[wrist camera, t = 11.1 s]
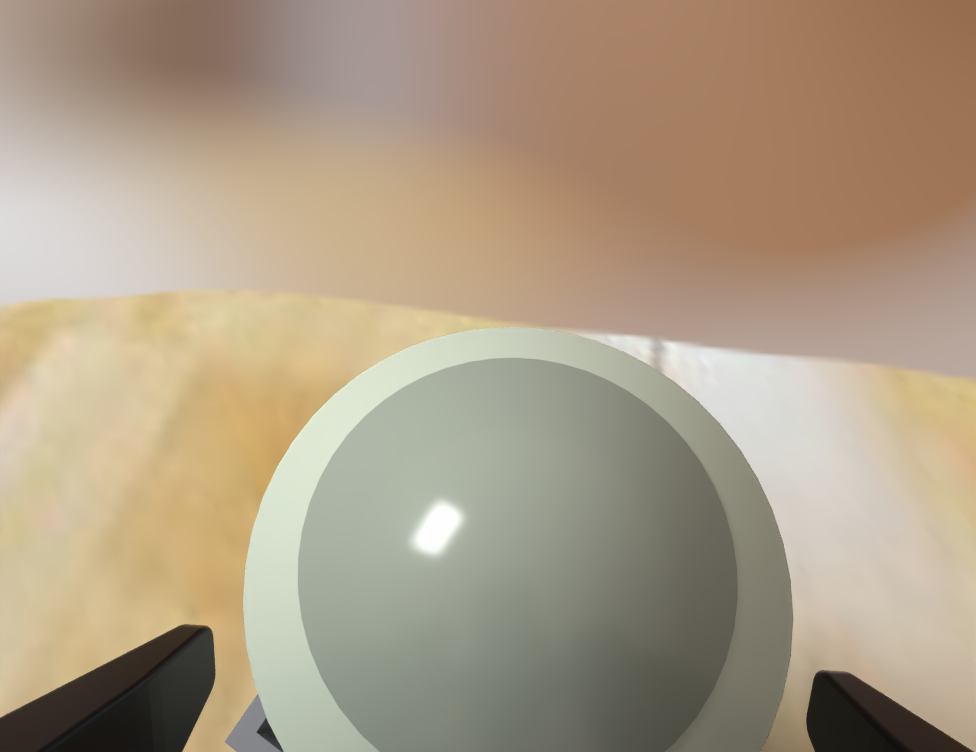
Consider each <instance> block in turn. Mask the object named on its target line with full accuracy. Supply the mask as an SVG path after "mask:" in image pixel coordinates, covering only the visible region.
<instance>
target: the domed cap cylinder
mask: <svg viewBox="0 0 976 752" xmlns="http://www.w3.org/2000/svg"><path fill="white" fill-rule="evenodd" d="M243 609H244V624H245V638H246V646H247V651H248V656H249V661H250V665H251V670H252V675H253V680H254V684H255V687H256V689H257V692H258V695H259V698H260V701H261V703H262V706H263V709H264V712H265V715H266V717H267V720H268V723H269V725H270V726H271V728H272V730H273V732H274V734H275V736H276V738H277V740H278V742H279V743H280V745H281V747H282V749H283V751H284V752H760V750H761V748H762V746H763V745H764V743H765V741H766V739H767V737H768V735H769V732H770V730H771V727H772V724H773V721H774V719H775V716H776V713H777V710H778V708H779V705H780V702H781V699H782V696H783V692H784V687H785V682H786V677H787V672H788V667H789V662H790V657H791V643H792V627H793V609H792V594H791V580H790V575H789V569H788V564H787V559H786V554H785V549H784V544H783V541H782V538H781V535H780V532H779V529H778V526H777V523H776V520H775V517H774V514H773V510H772V508H771V506H770V504H769V502H768V499H767V497H766V495H765V493H764V491H763V489H762V487H761V484H760V482H759V480H758V478H757V476H756V475H755V473H754V471H753V470H752V468H751V467H750V465H749V463H748V462H747V460H746V458H745V457H744V455H743V454H742V452H741V450H740V449H739V448H738V446H737V445H736V444H735V442H734V441H733V440H732V439H731V437H730V436H729V435H728V434H727V432H726V431H725V430H724V428H723V427H722V426H721V425H720V423H719V422H718V421H717V420H716V419H715V418H714V417H713V416H712V415H711V414H710V413H709V412H708V411H707V410H706V409H705V408H704V407H703V406H702V405H701V404H700V403H699V402H698V401H697V400H696V399H695V398H693V397H692V396H691V395H690V394H689V393H687V392H686V391H685V390H684V389H683V388H681V387H680V386H679V385H678V384H676V383H675V382H674V381H672V380H671V379H669V378H668V377H666V376H665V375H663V374H662V373H660V372H659V371H657V370H656V369H654V368H653V367H651V366H650V365H648V364H646V363H644V362H642V361H640V360H638V359H637V358H635V357H633V356H631V355H629V354H627V353H625V352H623V351H620V350H618V349H615V348H613V347H610V346H608V345H605V344H603V343H600V342H598V341H594V340H591V339H587V338H584V337H580V336H577V335H573V334H569V333H563V332H558V331H552V330H546V329H537V328H523V327H500V328H483V329H476V330H469V331H462V332H457V333H453V334H449V335H445V336H441V337H437V338H433V339H430V340H428V341H425V342H422V343H420V344H417V345H414V346H411V347H409V348H406V349H404V350H402V351H400V352H398V353H396V354H394V355H392V356H390V357H388V358H386V359H384V360H382V361H380V362H379V363H377V364H375V365H374V366H372V367H371V368H369V369H368V370H366V371H364V372H363V373H361V374H360V375H358V376H357V377H355V378H354V379H353V380H352V381H351V382H349V383H348V384H347V385H346V386H344V387H343V388H342V389H341V390H339V391H338V392H337V393H336V394H334V395H333V396H332V397H331V398H330V399H329V400H328V401H327V402H326V403H325V404H324V405H323V406H322V407H321V408H320V409H319V410H318V411H317V412H316V413H315V414H314V415H313V417H312V418H311V419H310V420H309V422H308V423H307V424H306V425H305V427H304V428H303V429H302V431H301V432H300V433H299V434H298V436H297V437H296V438H295V439H294V441H293V442H292V444H291V446H290V447H289V449H288V450H287V452H286V454H285V455H284V457H283V459H282V460H281V462H280V464H279V465H278V467H277V468H276V471H275V473H274V475H273V477H272V479H271V481H270V484H269V486H268V488H267V490H266V492H265V495H264V497H263V499H262V502H261V505H260V508H259V511H258V515H257V518H256V521H255V524H254V527H253V530H252V534H251V540H250V545H249V550H248V556H247V561H246V566H245V581H244V598H243Z"/></svg>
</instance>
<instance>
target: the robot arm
mask: <svg viewBox="0 0 976 752" xmlns="http://www.w3.org/2000/svg"><path fill="white" fill-rule="evenodd" d="M214 680H215V657H214V642H213V633H212V630H211V629H210V628H209V627H208V626H204V625H190V624H184V625H180V626H178V627H176V628H174V629H172V630H170V631H168V632H166V633H164V634H163V635H161V636H159V637H157V638H155V639H153V640H151V641H149V642H147V643H145V644H143V645H141V646H139V647H137V648H135V649H133V650H131V651H129V652H127V653H125V654H123V655H122V656H120V657H118V658H116V659H114V660H112V661H110V662H108V663H106V664H104V665H102V666H100V667H98V668H96V669H94V670H92V671H90V672H88V673H86V674H84V675H83V676H81V677H79V678H77V679H75V680H73V681H71V682H69V683H67V684H65V685H63V686H61V687H59V688H57V689H55V690H53V691H51V692H49V693H47V694H45V695H44V696H42V697H40V698H38V699H36V700H34V701H32V702H30V703H28V704H26V705H24V706H22V707H20V708H18V709H16V710H14V711H12V712H10V713H8V714H6V715H5V716H3V717H1V718H0V752H182V751H183V749H184V747H185V745H186V743H187V741H188V739H189V736H190V734H191V732H192V730H193V728H194V726H195V724H196V722H197V720H198V718H199V716H200V714H201V711H202V709H203V707H204V705H205V703H206V701H207V699H208V697H209V695H210V693H211V690H212V688H213V685H214ZM806 723H807V730H808V734H809V737H810V740H811V743H812V745H813V748H814V750H815V752H973V751H972V750H970V749H969V748H967V747H966V746H964V745H962V744H961V743H959V742H958V741H956V740H955V739H953V738H951V737H950V736H948V735H947V734H945V733H944V732H942V731H940V730H939V729H937V728H936V727H934V726H933V725H931V724H929V723H928V722H926V721H925V720H923V719H922V718H920V717H918V716H917V715H915V714H914V713H912V712H910V711H909V710H907V709H906V708H904V707H903V706H901V705H899V704H898V703H896V702H895V701H893V700H892V699H890V698H888V697H887V696H885V695H884V694H882V693H881V692H879V691H877V690H876V689H874V688H873V687H871V686H870V685H868V684H866V683H865V682H863V681H862V680H860V679H859V678H857V677H855V676H854V675H852V674H850V673H848V672H843V671H829V670H821V671H819V672H817V673H816V675H815V677H814V680H813V685H812V690H811V696H810V701H809V706H808V711H807V718H806Z"/></svg>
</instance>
